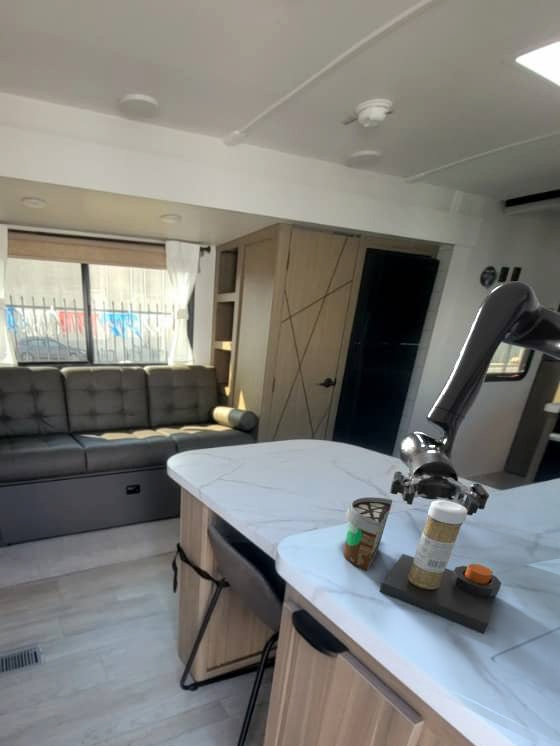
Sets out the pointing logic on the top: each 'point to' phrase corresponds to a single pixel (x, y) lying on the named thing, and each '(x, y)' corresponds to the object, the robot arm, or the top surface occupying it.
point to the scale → (445, 595)
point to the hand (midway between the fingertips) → (440, 504)
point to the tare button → (478, 573)
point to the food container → (365, 529)
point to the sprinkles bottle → (436, 543)
